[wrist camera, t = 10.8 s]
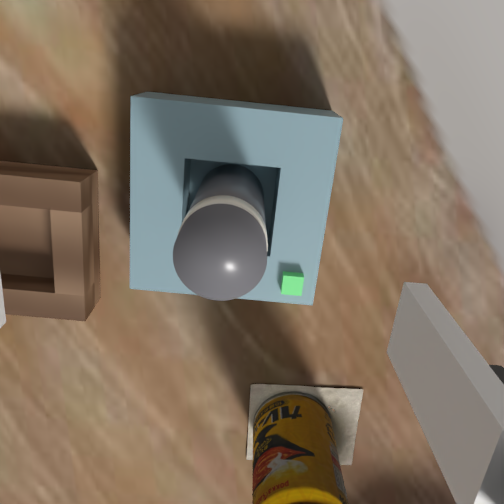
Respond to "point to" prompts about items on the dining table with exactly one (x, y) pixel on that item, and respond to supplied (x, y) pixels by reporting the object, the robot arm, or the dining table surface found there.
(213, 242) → the plug
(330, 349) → the dining table surface
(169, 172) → the port
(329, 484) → the condiment
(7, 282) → the wooden square frame
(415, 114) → the dining table surface
